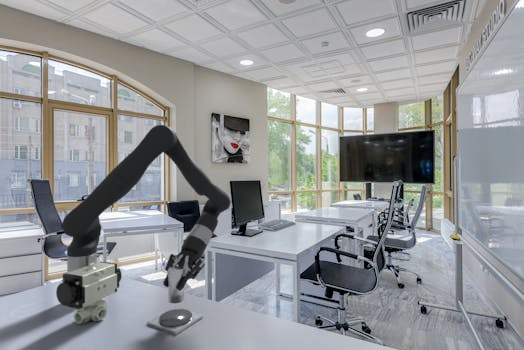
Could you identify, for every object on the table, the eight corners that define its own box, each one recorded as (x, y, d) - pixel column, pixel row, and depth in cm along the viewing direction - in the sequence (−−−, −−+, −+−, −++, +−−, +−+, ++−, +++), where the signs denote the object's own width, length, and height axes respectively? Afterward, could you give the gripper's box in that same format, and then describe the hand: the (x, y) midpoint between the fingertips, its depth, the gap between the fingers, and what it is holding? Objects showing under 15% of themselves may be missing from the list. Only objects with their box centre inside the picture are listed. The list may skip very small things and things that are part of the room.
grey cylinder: (165, 301, 93) (164, 269, 93) (176, 295, 98) (176, 265, 97) (176, 304, 91) (176, 272, 91) (187, 298, 95) (187, 267, 95)
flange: (147, 324, 92) (147, 320, 92) (175, 308, 102) (175, 304, 102) (175, 335, 86) (175, 330, 86) (203, 317, 97) (203, 312, 97)
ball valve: (76, 336, 85) (75, 274, 85) (55, 330, 88) (55, 270, 88) (125, 308, 102) (125, 257, 102) (106, 304, 105) (106, 254, 105)
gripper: (176, 232, 104) (148, 277, 94) (209, 237, 97) (182, 286, 87) (187, 244, 109) (161, 288, 98) (218, 249, 102) (195, 297, 91)
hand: (171, 287), depth 93 cm, fingers closed on grey cylinder, 4 cm apart
